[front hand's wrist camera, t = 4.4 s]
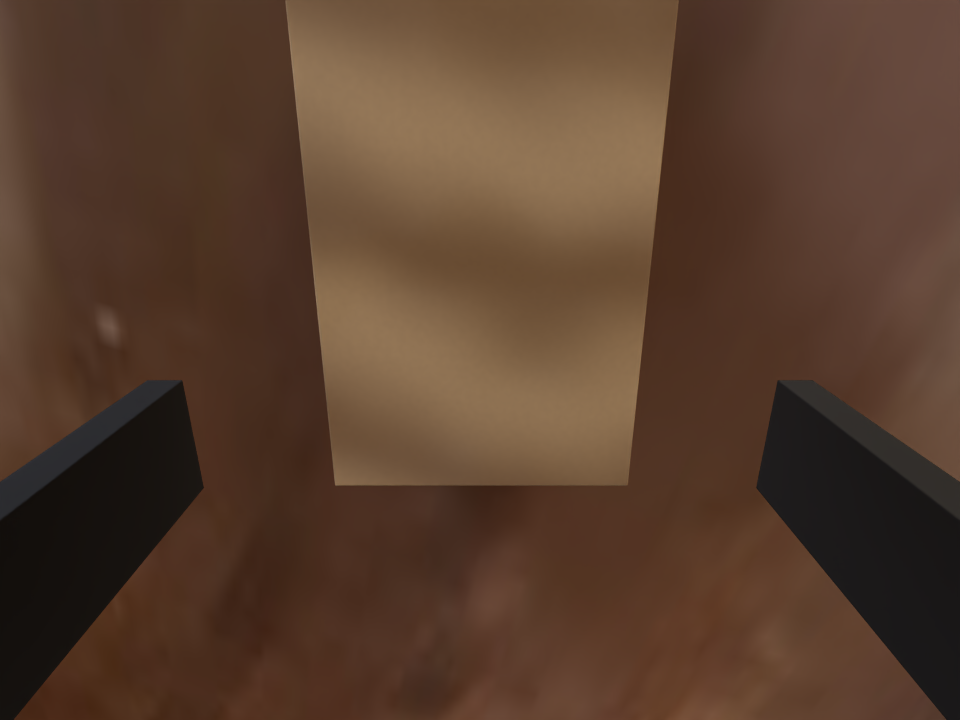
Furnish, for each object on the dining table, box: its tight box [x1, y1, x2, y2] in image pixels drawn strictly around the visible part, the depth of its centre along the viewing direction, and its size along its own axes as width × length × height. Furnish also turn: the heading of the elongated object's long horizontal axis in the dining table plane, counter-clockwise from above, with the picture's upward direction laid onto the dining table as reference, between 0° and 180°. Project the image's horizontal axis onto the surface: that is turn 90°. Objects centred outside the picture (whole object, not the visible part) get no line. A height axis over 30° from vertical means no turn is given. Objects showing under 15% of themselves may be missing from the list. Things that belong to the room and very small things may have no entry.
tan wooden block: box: [285, 0, 679, 486], centre depth 21 cm, size 16×10×9 cm, turn 0°
